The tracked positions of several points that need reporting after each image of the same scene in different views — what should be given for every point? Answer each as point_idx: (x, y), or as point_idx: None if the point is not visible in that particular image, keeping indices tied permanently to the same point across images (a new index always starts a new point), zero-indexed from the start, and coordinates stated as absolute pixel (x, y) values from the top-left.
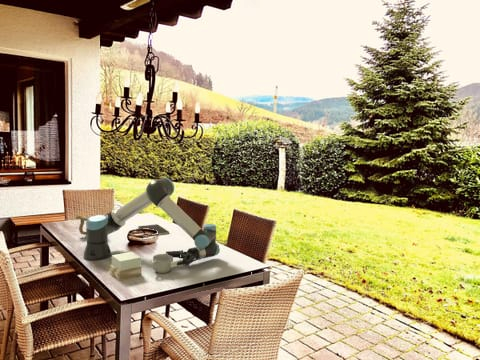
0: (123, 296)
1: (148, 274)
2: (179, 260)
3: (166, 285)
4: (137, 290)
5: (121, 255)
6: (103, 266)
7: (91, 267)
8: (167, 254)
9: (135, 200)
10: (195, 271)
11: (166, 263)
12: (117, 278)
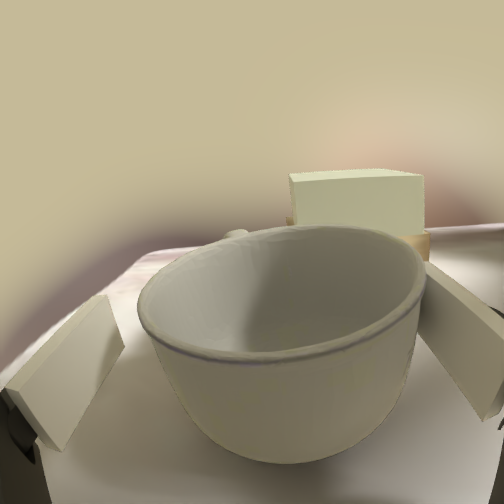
0: (162, 253)
1: None
2: (31, 361)
3: None
4: (158, 271)
5: (369, 171)
6: (458, 240)
7: (449, 229)
8: (502, 361)
9: None
10: None
11: (167, 302)
12: None
